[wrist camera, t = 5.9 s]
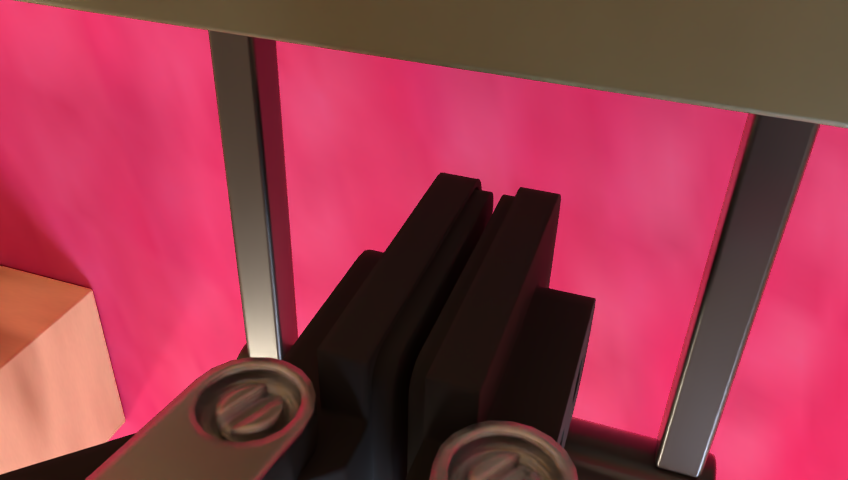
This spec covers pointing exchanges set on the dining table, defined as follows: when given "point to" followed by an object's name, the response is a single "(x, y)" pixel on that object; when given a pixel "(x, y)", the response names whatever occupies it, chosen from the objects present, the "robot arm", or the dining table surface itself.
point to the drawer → (568, 65)
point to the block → (52, 371)
